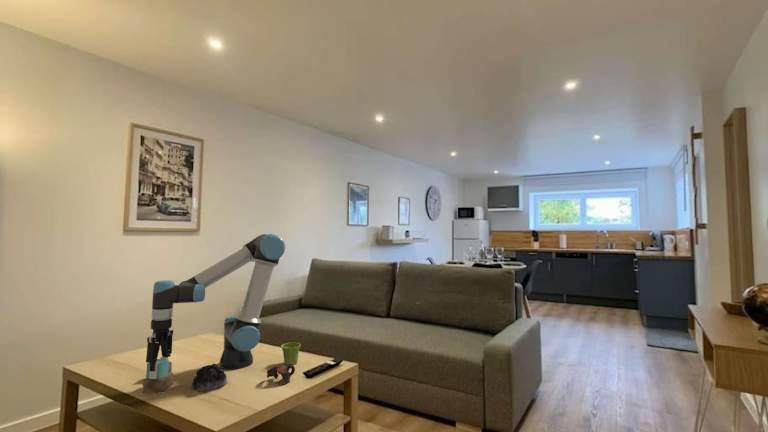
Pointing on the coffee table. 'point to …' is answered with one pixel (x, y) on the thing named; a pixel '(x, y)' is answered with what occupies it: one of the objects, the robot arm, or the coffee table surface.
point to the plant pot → (290, 352)
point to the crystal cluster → (209, 378)
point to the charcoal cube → (169, 367)
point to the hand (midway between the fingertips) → (158, 375)
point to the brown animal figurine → (283, 371)
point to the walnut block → (158, 384)
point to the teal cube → (159, 368)
